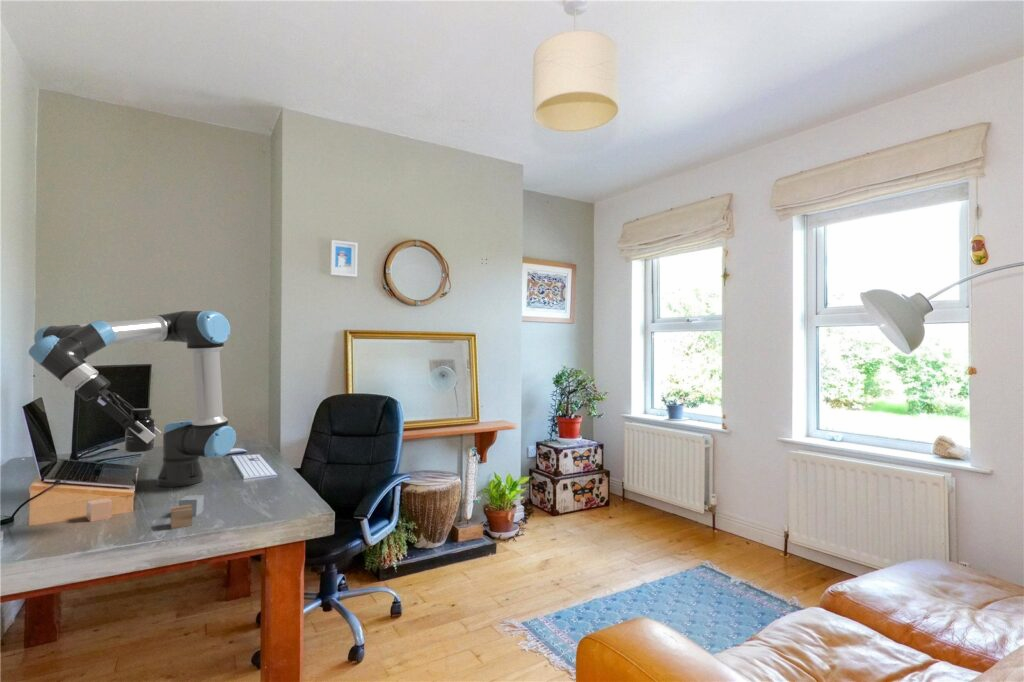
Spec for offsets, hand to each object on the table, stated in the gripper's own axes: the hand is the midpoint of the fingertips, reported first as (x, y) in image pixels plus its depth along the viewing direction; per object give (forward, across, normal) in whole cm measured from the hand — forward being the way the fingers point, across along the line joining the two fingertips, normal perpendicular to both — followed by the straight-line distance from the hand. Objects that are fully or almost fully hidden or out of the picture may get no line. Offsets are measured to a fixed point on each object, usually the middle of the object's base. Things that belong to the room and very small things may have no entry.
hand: (154, 437), depth 152 cm
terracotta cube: (+7, -9, -28) cm, 30 cm away
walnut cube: (+23, +7, -11) cm, 27 cm away
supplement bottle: (0, 0, -5) cm, 5 cm away
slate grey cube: (+24, -4, -11) cm, 27 cm away
